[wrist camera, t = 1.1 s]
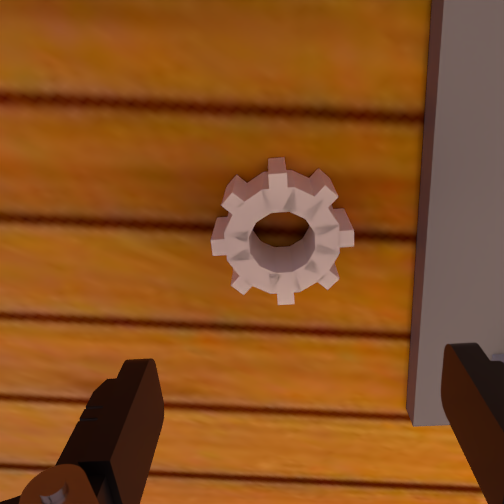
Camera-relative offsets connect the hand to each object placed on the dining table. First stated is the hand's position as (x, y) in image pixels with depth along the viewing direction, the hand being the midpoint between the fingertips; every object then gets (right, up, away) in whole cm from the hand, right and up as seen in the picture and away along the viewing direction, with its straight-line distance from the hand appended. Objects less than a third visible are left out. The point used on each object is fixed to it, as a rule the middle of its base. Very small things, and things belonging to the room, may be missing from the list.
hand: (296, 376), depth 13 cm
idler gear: (0, +5, +11) cm, 12 cm away
